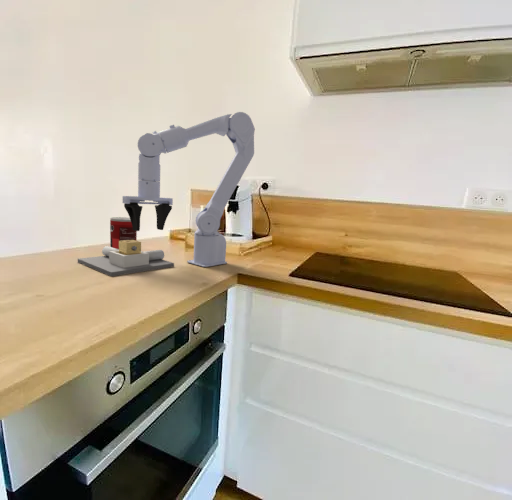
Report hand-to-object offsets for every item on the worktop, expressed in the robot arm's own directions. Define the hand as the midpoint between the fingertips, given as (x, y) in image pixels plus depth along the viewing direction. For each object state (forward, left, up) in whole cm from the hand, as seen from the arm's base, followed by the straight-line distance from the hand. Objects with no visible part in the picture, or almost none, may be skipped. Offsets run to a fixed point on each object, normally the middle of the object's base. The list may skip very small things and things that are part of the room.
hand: (148, 230), depth 90 cm
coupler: (+7, +2, -8) cm, 11 cm away
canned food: (-2, -17, -10) cm, 20 cm away
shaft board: (+6, -1, -9) cm, 11 cm away
